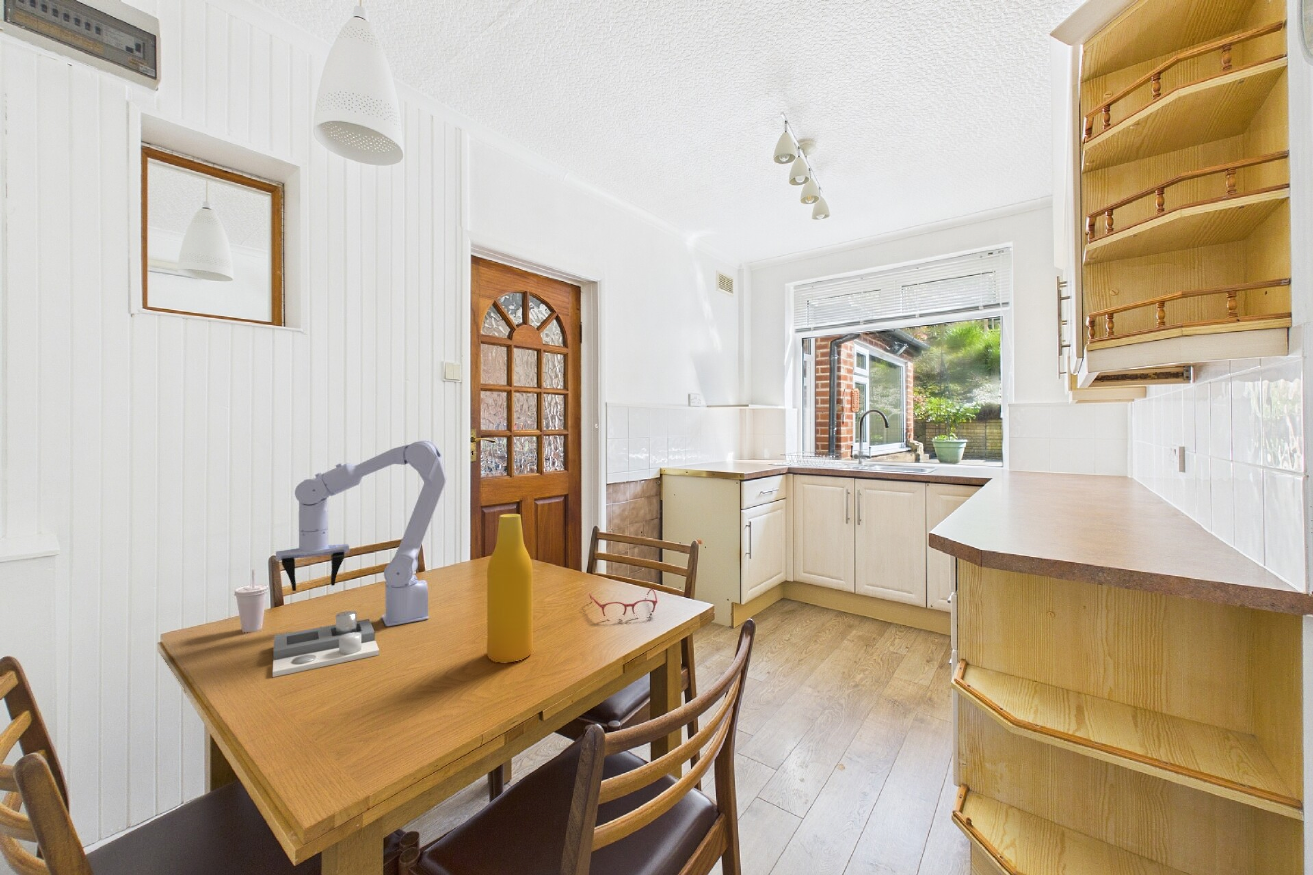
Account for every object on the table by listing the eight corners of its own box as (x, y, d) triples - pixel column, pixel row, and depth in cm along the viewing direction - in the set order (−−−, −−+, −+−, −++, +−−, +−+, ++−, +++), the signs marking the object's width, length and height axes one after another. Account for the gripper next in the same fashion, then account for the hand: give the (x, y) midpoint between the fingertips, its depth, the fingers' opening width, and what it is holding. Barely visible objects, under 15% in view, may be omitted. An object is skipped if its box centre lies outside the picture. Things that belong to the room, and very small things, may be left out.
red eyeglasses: (594, 624, 131) (594, 603, 131) (587, 603, 146) (587, 585, 146) (663, 618, 135) (664, 598, 135) (649, 599, 150) (649, 581, 150)
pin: (354, 636, 122) (354, 609, 122) (358, 641, 119) (358, 614, 119) (334, 640, 119) (334, 613, 119) (337, 646, 116) (337, 618, 116)
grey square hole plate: (369, 629, 126) (369, 618, 126) (374, 643, 118) (374, 632, 118) (274, 646, 116) (274, 635, 116) (273, 663, 108) (273, 651, 108)
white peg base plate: (375, 645, 117) (375, 626, 117) (379, 654, 112) (379, 635, 112) (273, 665, 107) (273, 645, 107) (272, 677, 102) (272, 655, 102)
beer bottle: (477, 659, 110) (476, 517, 109) (505, 643, 118) (505, 510, 118) (515, 667, 106) (515, 520, 106) (541, 649, 115) (541, 513, 114)
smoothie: (250, 635, 122) (249, 574, 122) (227, 633, 123) (226, 572, 123) (275, 625, 128) (275, 566, 128) (253, 623, 129) (252, 565, 129)
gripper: (347, 524, 134) (347, 578, 135) (275, 530, 126) (276, 587, 126) (350, 528, 129) (350, 585, 129) (275, 535, 120) (276, 595, 121)
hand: (313, 587), depth 127 cm, fingers open, 7 cm apart
